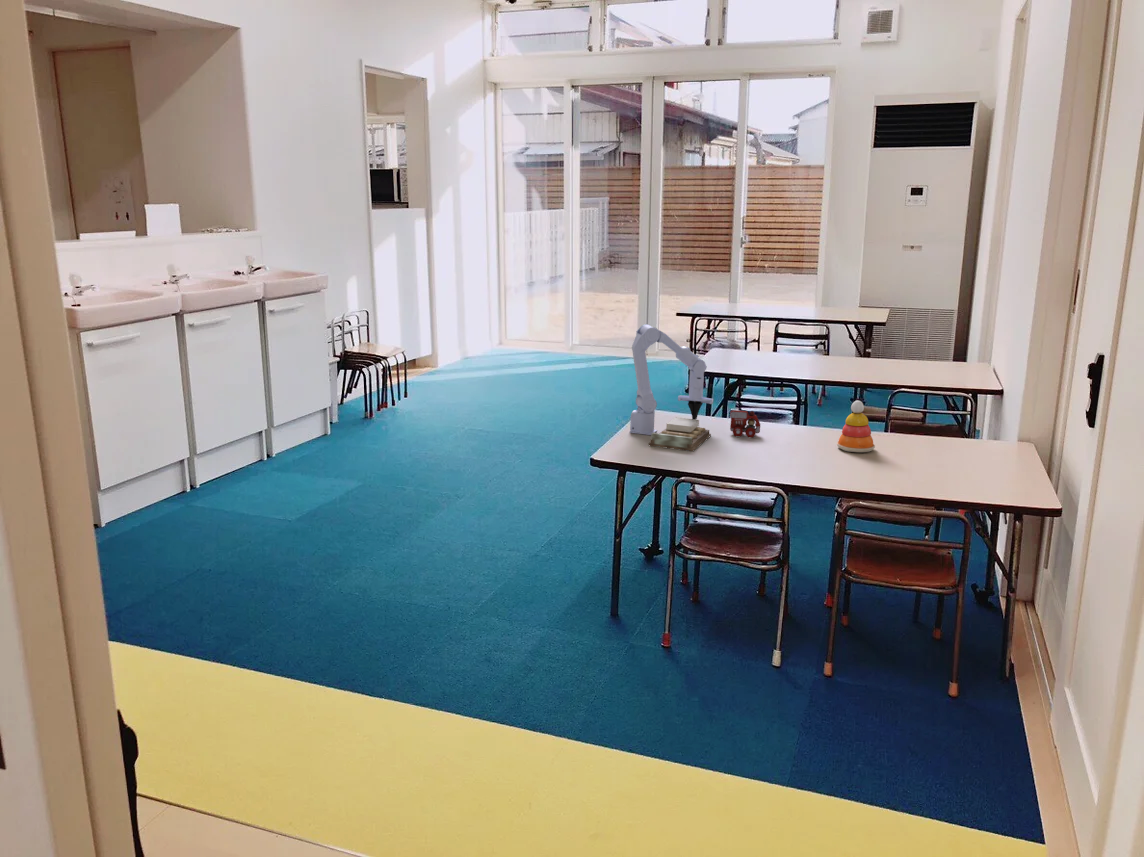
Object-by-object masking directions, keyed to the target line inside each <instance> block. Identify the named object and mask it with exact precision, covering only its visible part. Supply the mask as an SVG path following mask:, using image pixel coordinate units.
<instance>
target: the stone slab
mask: <svg viewBox="0 0 1144 857" xmlns="http://www.w3.org/2000/svg"><path fill="white" fill-rule="evenodd" d="M697 427H700V419H692V418H686V417H677V416H675V417H674V418H672V419H671V420H670V421H668V422H667V423H666V428H665V429H667V430H675V431H683V432H691V431H693V430H694V429H695V428H697Z"/></svg>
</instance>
